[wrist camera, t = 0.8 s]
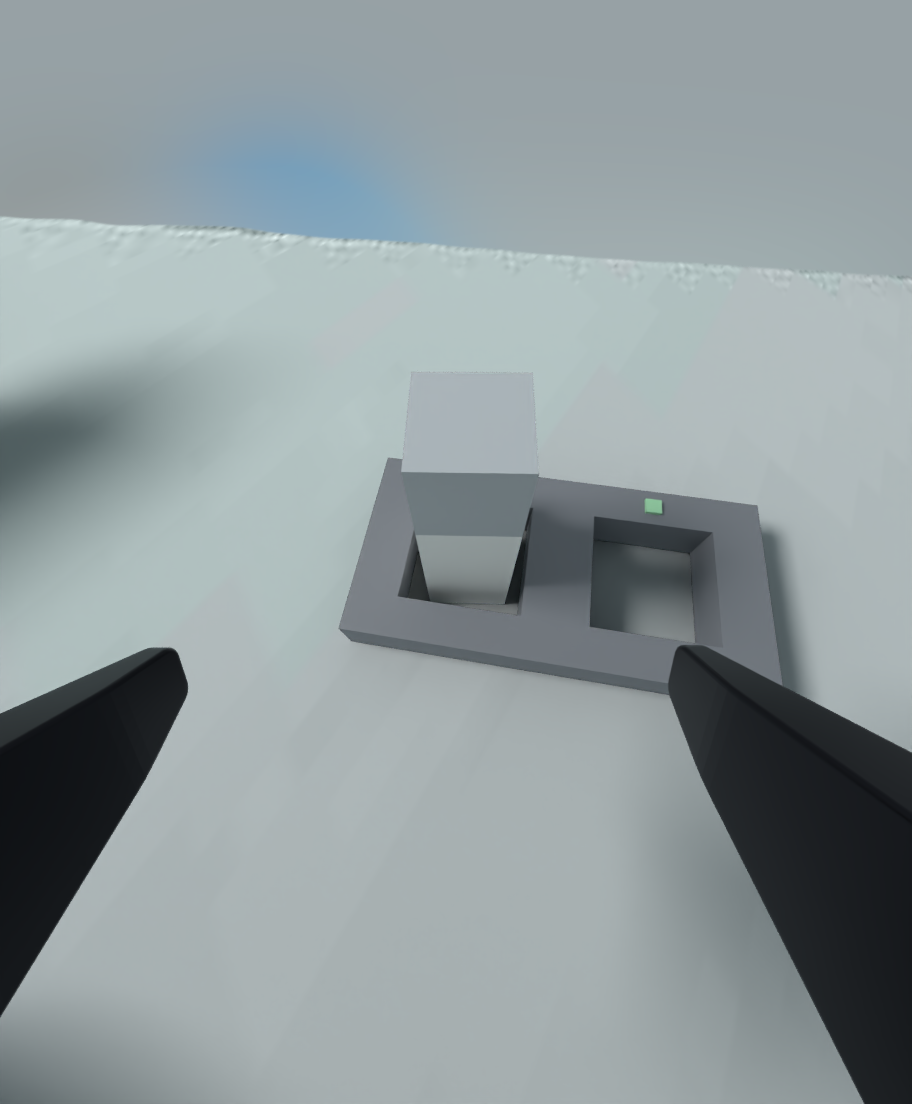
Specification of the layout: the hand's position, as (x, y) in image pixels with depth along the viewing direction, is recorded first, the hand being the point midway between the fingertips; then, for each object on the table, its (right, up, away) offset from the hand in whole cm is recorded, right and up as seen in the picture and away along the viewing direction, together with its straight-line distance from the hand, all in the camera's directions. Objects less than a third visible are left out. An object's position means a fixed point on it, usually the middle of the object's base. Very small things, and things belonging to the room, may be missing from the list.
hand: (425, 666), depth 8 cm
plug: (+1, +1, +16) cm, 17 cm away
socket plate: (+6, 0, +16) cm, 17 cm away
